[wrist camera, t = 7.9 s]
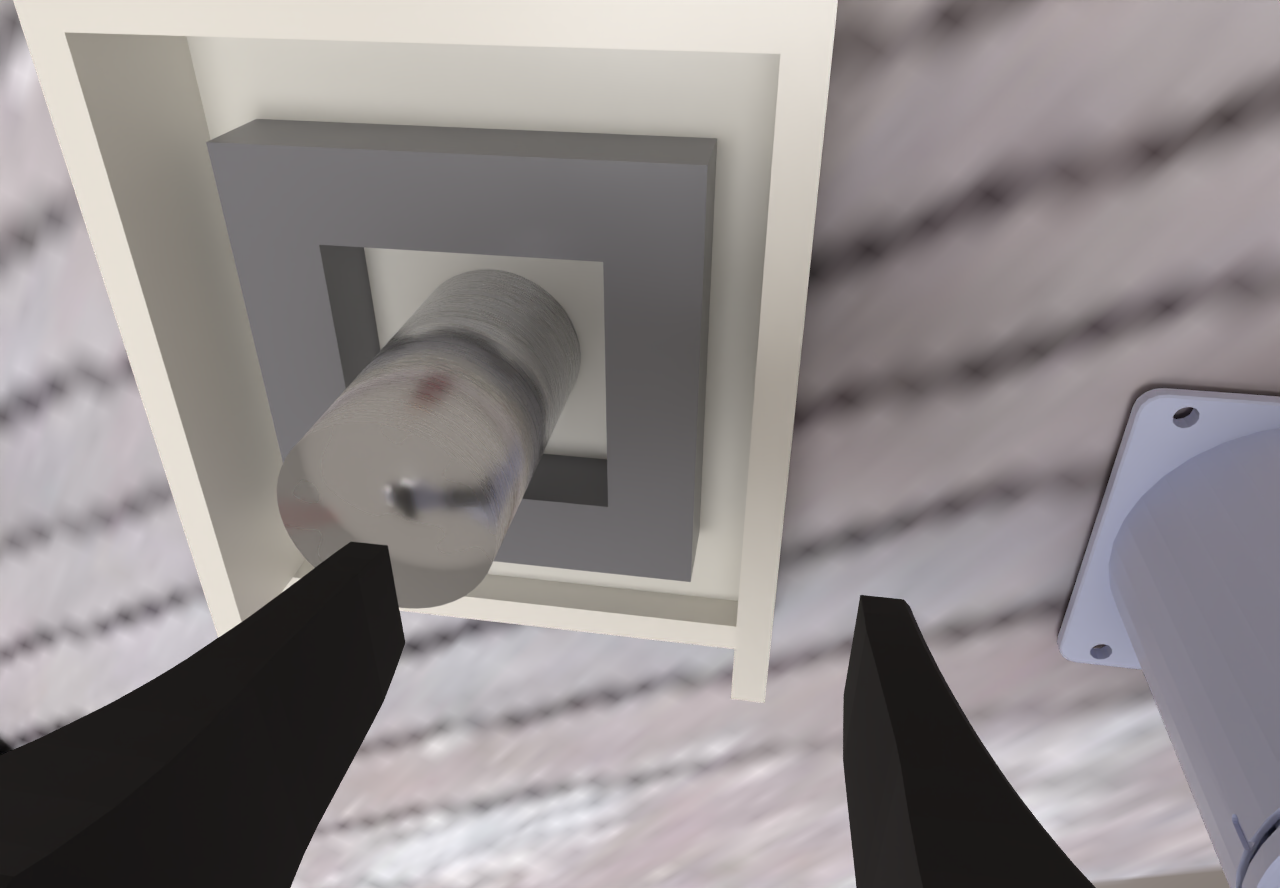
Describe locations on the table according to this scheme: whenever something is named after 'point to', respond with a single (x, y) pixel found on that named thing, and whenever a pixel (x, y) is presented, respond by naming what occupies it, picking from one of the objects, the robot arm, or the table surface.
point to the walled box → (467, 265)
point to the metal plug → (437, 436)
